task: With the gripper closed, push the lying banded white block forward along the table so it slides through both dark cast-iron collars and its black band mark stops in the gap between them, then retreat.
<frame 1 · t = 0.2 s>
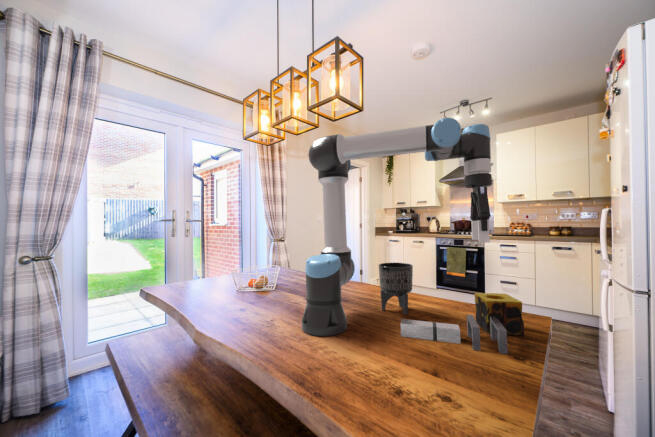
hand: (480, 241, 82), 28 cm above the table, fingers open, 13 cm apart
candle: (498, 329, 82), on the table
planter: (396, 310, 101), on the table
banded white block: (429, 337, 77), on the table
collar b: (498, 345, 70), on the table
collar a: (473, 342, 73), on the table
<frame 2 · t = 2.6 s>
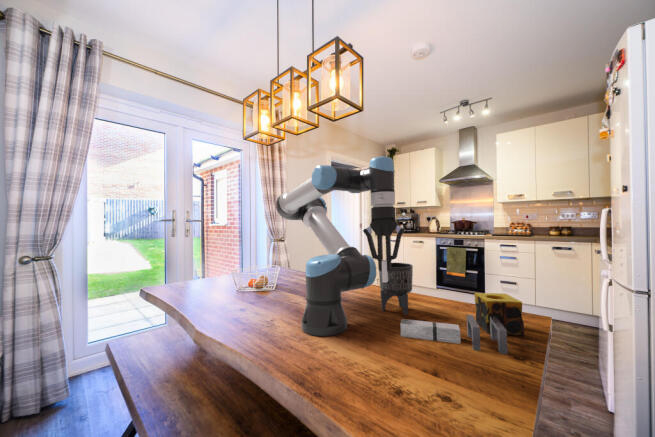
hand: (385, 281, 81), 16 cm above the table, fingers closed
nothing on the table moved.
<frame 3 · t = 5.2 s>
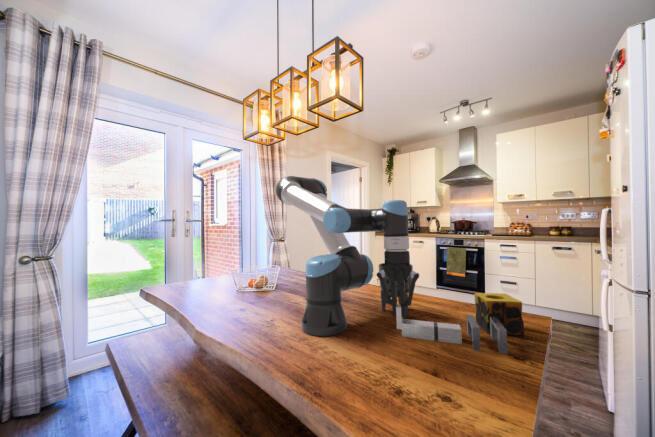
hand: (399, 327, 79), 2 cm above the table, fingers closed
banded white block: (430, 337, 76), on the table, touching gripper
everything else where it was.
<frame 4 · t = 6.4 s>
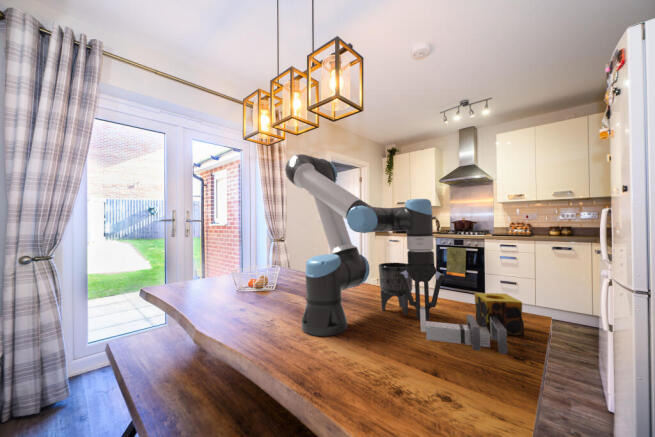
hand: (423, 330, 77), 2 cm above the table, fingers closed
banded white block: (456, 340, 74), on the table, touching gripper
everything else where it was.
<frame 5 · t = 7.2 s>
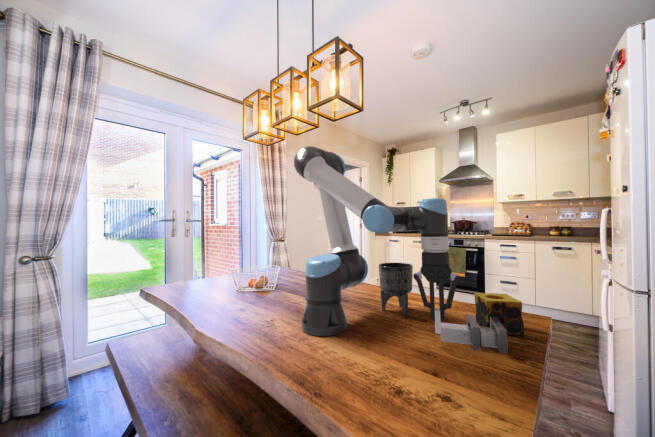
hand: (438, 331, 76), 2 cm above the table, fingers closed
banded white block: (471, 342, 73), on the table, touching gripper
everything else where it was.
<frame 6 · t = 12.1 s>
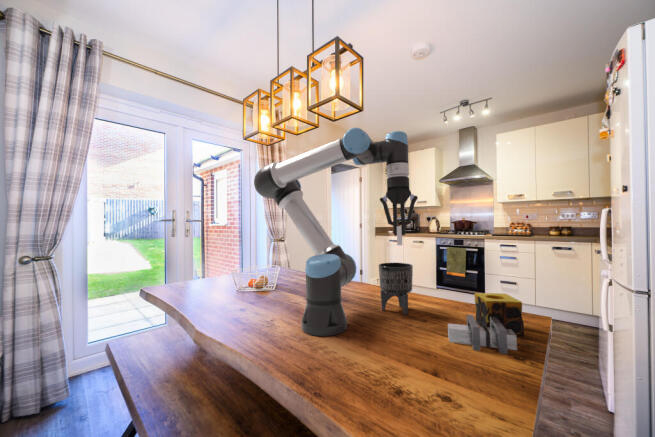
hand: (399, 244, 90), 26 cm above the table, fingers closed
banded white block: (480, 343, 72), on the table
everything else where it was.
at the end: banded white block 0.4 cm from the target spot, on the table; banded white block moved 13.2 cm from its start; banded white block tilted 0° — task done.
